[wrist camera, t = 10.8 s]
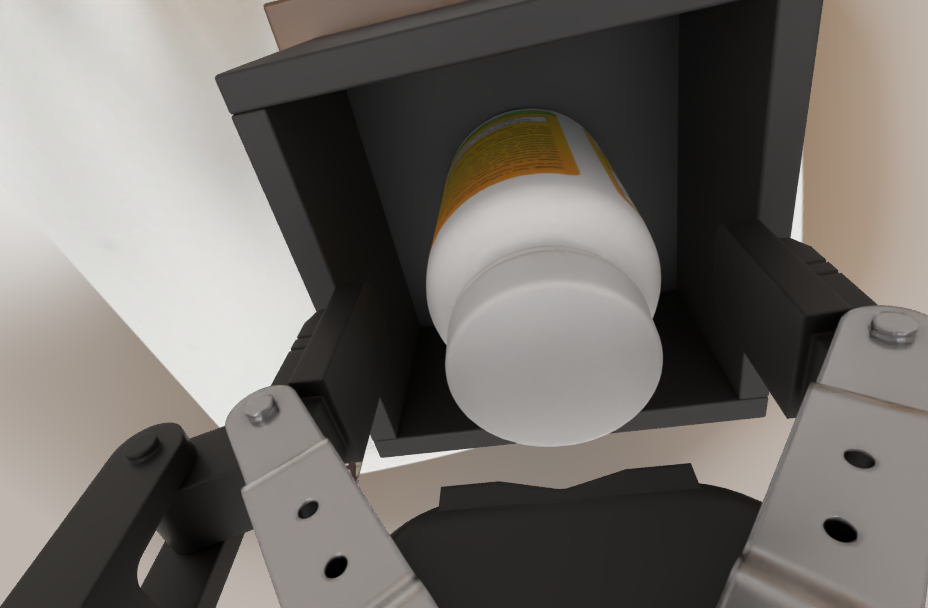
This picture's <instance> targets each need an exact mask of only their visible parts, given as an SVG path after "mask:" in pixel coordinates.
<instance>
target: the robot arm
mask: <svg viewBox="0 0 928 608" xmlns="http://www.w3.org/2000/svg"><path fill="white" fill-rule="evenodd" d="M713 296H714V301H715V305H716V308H717V311H718V313H719V315H720V316H721V318H722V319H723V321H724V322H725V324H726V326H727V327H728V329H729V330H730V332H731V333H732V335H733V336H734V338H735V339H736V341H737V342H738V344H739V346H740V347H741V349H742V350H743V352H744V353H745V355H746V356H747V358H748V359H749V361H750V362H751V364H752V365H753V367H754V369H755V370H756V372H757V373H758V375H759V376H760V378H761V379H762V381H763V382H764V384H765V385H766V387H767V389H768V390H769V392H770V393H771V395H772V396H773V398H774V399H775V401H776V402H777V404H778V405H779V407H780V408H781V410H782V411H783V413H784V415H785V416H786V418H787V419H789V418H796V419H795V422H794V424H793V427H792V429H791V432H790V434H789V437H788V439H787V442H786V445H785V447H784V450H783V452H782V455H781V457H780V460H779V462H778V465H777V467H776V470H775V472H774V475H773V478H772V480H771V482H770V485H769V488H768V490H767V493H766V495H765V498H764V500H763V502H761V501H759V500H756V499H754V498H751V497H749V496H746V495H744V494H742V493H738V492H735V491H732V490H729V489H726V488H721V487H717V486H713V485H708V484H700V483H698V480H697V478H696V475H695V473H694V470H693V468H692V465H691V463H688V464H676V465H666V466H655V467H645V468H635V469H625V470H622V471H619V472H616V473H613V474H610V475H607V476H604V477H601V478H598V479H595V480H592V481H588V482H585V483H583V484H579V485H576V486H573V487H570V488H566V489H553V488H545V487H538V486H530V485H523V484H515V483H507V482H488V483H477V484H467V485H456V486H446V487H441V493H440V501H439V507H436V508H434V509H431V510H429V511H427V512H425V513H422V514H420V515H418V516H416V517H415V518H413V519H411V520H410V521H408V522H406V523H405V524H403V525H402V526H401V527H399V528H398V529H397V530H395V531H394V532H393V533H392V534H391V535H389V533H388V532H387V530H386V529H385V527H384V525H383V524H382V522H381V521H380V519H379V517H378V516H377V514H376V513H375V512H374V510H373V508H372V506H371V505H370V503H369V502H368V500H367V498H366V497H365V495H364V494H363V492H362V491H361V489H360V487H359V486H358V484H357V483H356V481H355V480H354V478H353V476H352V475H351V473H350V472H349V470H348V469H347V467H346V465H345V464H348V463H358V462H362V461H363V458H364V454H365V450H366V447H367V443H368V439H369V436H370V432H371V428H372V425H373V421H374V417H375V413H376V410H377V406H378V402H379V399H380V395H381V391H382V388H383V384H384V380H385V377H386V373H387V369H388V365H389V362H390V358H391V343H390V337H389V334H388V331H387V328H386V325H385V322H384V320H383V317H382V314H381V311H380V308H379V306H378V303H377V300H376V297H375V294H374V292H373V289H372V287H371V286H370V284H369V283H367V282H363V283H357V284H351V285H345V286H339V287H336V288H335V290H334V292H333V294H332V296H331V298H330V300H329V302H328V304H327V306H326V308H325V309H320V310H318V311H317V312H316V313H315V314H314V315H313V316H312V317H311V318H310V319H309V320H308V321H306V322H305V324H304V325H303V327H302V329H301V331H300V333H299V335H298V336H297V338H298V340H295V342H294V344H293V346H292V348H291V351H290V352H289V353H288V355H287V357H286V359H285V360H284V362H283V364H282V366H281V368H280V370H279V372H278V373H277V375H276V377H275V379H274V381H273V383H272V385H271V386H269V387H265V388H263V389H260V390H258V391H256V392H253V393H252V394H250V395H248V396H247V397H245V398H244V399H243V400H241V401H240V402H239V403H238V404H237V405H236V406H235V407H234V408H233V409H232V410H231V412H230V413H229V415H228V417H227V419H226V423H225V426H224V427H221V428H218V429H215V430H213V431H210V432H207V433H204V434H201V435H198V436H196V437H193V438H190V439H189V437H188V436H187V434H186V433H185V432H184V430H183V429H182V427H181V426H180V425H178V424H175V423H162V424H157V425H154V426H151V427H149V428H147V429H144V430H143V431H141V432H139V433H137V434H135V435H134V436H132V437H131V438H129V439H128V440H127V441H126V442H124V443H123V444H122V445H121V446H120V447H119V448H118V449H117V450H116V451H115V452H114V453H113V454H112V455H111V457H110V458H109V459H108V461H107V462H106V463H105V465H104V466H103V468H102V469H101V470H100V472H99V473H98V474H97V476H96V477H95V478H94V480H93V481H92V482H91V484H90V485H89V487H88V488H87V489H86V491H85V492H84V494H83V495H82V496H81V497H80V499H79V500H78V502H77V503H76V504H75V506H74V507H73V508H72V510H71V511H70V512H69V514H68V515H67V517H66V518H65V519H64V521H63V522H62V523H61V525H60V526H59V528H58V529H57V530H56V532H55V533H54V534H53V536H52V537H51V538H50V540H49V541H48V542H47V544H46V545H45V547H44V548H43V549H42V551H41V552H40V553H39V555H38V556H37V557H36V559H35V560H34V561H33V563H32V564H31V566H30V567H29V568H28V570H27V571H26V572H25V574H24V575H23V576H22V578H21V579H20V581H19V582H18V583H17V585H16V586H15V587H14V589H13V590H12V591H11V593H10V594H9V595H8V597H7V598H6V599H5V601H4V602H3V604H2V605H1V606H0V608H216V605H217V602H218V600H219V597H220V595H221V592H222V590H223V587H224V585H225V582H226V580H227V577H228V575H229V572H230V569H231V567H232V564H233V562H234V559H235V557H236V554H237V552H238V549H239V546H240V544H241V541H242V539H243V536H244V533H245V532H248V531H250V530H253V529H254V531H255V534H256V537H257V540H258V543H259V546H260V549H261V551H262V555H263V557H264V560H265V563H266V566H267V569H268V572H269V575H270V578H271V580H272V583H273V586H274V589H275V592H276V595H277V598H278V601H279V603H280V607H281V608H925V602H926V593H927V586H928V315H926V314H923V313H920V312H918V311H914V310H911V309H907V308H902V307H895V306H885V305H877V304H876V303H875V302H874V301H872V299H870V298H869V297H868V296H867V295H866V294H865V293H864V292H862V291H861V290H860V289H859V288H858V287H857V286H856V285H854V284H853V283H852V282H851V281H850V280H849V279H848V278H846V277H845V276H844V275H843V274H842V273H838V270H837V269H836V268H835V267H834V266H833V265H832V264H830V263H829V262H826V259H825V258H824V257H822V256H821V255H820V254H819V253H818V252H816V251H815V250H814V249H813V248H812V247H811V246H808V245H806V244H803V243H801V242H799V241H796V240H794V239H791V238H789V237H785V238H778V237H777V236H776V235H775V234H774V233H773V232H772V231H771V230H770V229H769V228H768V227H766V226H765V225H764V224H763V223H762V222H761V221H760V220H758V219H755V220H748V221H742V222H736V223H730V224H724V225H720V226H719V227H718V228H717V231H716V237H715V256H714V274H713ZM155 531H157V532H158V533H159V534H160V535H161V536H162V537H163V539H164V540H165V542H164V544H163V546H162V548H161V550H160V552H159V554H158V556H157V558H156V559H155V561H154V563H153V565H152V567H151V569H150V571H149V573H148V575H147V576H146V578H145V580H144V582H143V584H142V586H141V588H140V587H139V584H138V579H137V570H138V564H139V561H140V558H141V557H142V555H143V553H144V551H145V549H146V547H147V546H148V544H149V542H150V540H151V538H152V536H153V535H154V533H155Z"/></svg>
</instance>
